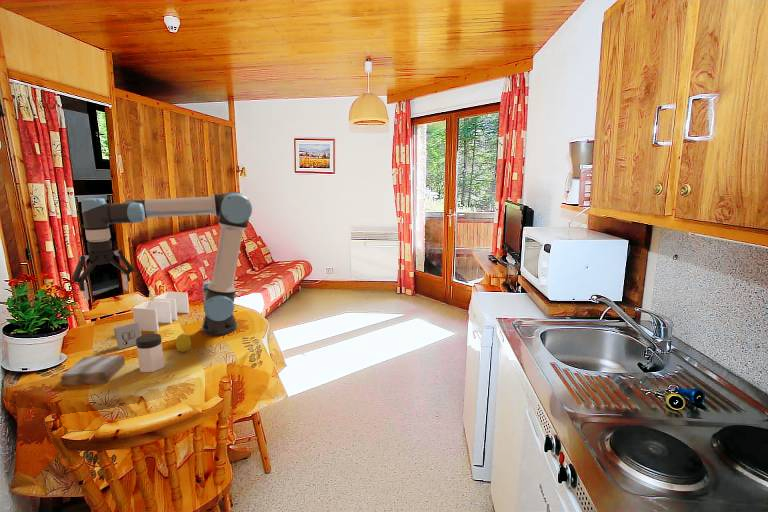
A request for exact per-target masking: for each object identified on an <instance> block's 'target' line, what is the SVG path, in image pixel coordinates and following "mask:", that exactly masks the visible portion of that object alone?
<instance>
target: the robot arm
mask: <svg viewBox="0 0 768 512" xmlns="http://www.w3.org/2000/svg"><path fill="white" fill-rule="evenodd" d="M80 205H81V213H82V219H83V224H84V225H83V227H84V231H85V238H86V244H87V251H88V255H82V254H80V255H78V262H77V264H76V266H75V270H74V272H73V273H72V277H71V281H72V282H73V283H78V289H79V291H80V292H82V293H83V294H82V295H83V299H85V300H87V301H88V300H90V297H89V290H88V283H87V282H86V280H87V278H88V277H89V275H90V274H91V273H92V272H93V270H94V269H95V268H96V266H101V265H109V264H112V265H113V266H114V267H116V268H117V269H118V270H120V271H121V272H122V273H121V278H122V279H121V280H122V287H123V290H124V291H125V292H128V291H129V289H130V288H129V282H130V281H131V278H130V277H131V276H130V274H131V273H132V272H134V271H135V269H134V267H133V266H132V265H131V263H130V262H129V261H128V259H126V256H124V253H123V250H121V249H116V250H113V244H112V240H111V238H112V235H111V229H110V225H111V224H136V223H143V222H145V219H149V218H166V217H167V218H168V217H184V216H186V217H187V216H201V215H203V216H205V215H212V216H213V215H214V216H215V217H218V222H217V223H218V225H219V226H220V233H219V240H218V243H217V250H216V255H215V257H216V258H215V261H214V268H213V274H212V279H211V280H210V281H206V282H204V283H203V284H202V292H203V294H202V295H203V312H204V317H203V321H202V326H201V329H202V330H201V331H202V334H205V335H208V336H222V335H227V334H230V333H232V332H234V331H236V330H235V329H238V321H237V320H236V317H235V315H234V311H235V303H234V302H235V298H236V297H235V296H236V292H237V288H236V287H235V285H234V282H235V277H236V270H237V265H238V260H239V254H240V248H241V243H242V237H243V232H244V231H245V230H246V229H248V225H249V221H250V217H251V216H252V214H253V205H252V203H251V201H250V199H249V198H248V197H247V196H246V195H244V194H243V193H241V192H238V191H229V192H228V191H227V192H223V193H213V194H212V195H211V196H199V197H198V196H197V197H196V196H195V197H194V196H193V197H175V198H174V197H173V198H172V197H171V198H154V199H151V198H149V199H127V200H125V201H123V202H120V203H119V202H117V203H107V200H106V199H105V198H102V197H97V198H96V197H92V198H89V197H88V198H84V199H82V200H81V204H80ZM115 256H117V258H118V259H119V260H120V261H121V262H122V264H123V265H124V266H125V267H124V266H122V265H121V264H120V263H119V262H118V261H116V260H115V259H114V257H115ZM88 260H90V261H89V262H88V264H87V266H86V268H85V269H84V266H85V264H86V261H88ZM83 269H84V271H83ZM82 271H83V272H82Z"/></svg>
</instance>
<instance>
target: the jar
mask: <svg viewBox="0 0 768 512" xmlns="http://www.w3.org/2000/svg"><path fill="white" fill-rule="evenodd" d="M141 335H142V334H141ZM135 346H136V350H137V358H138V365H139V372H140V373H154V372H157V371H159V370H161V369H163V368H165V362H164V354H163V344H162V335H161V334H159V333H145V334H143V335H142V336H140V337H138V338H137V339H136V345H135Z"/></svg>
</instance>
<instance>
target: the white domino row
mask: <svg viewBox="0 0 768 512" xmlns="http://www.w3.org/2000/svg"><path fill="white" fill-rule="evenodd" d="M152 299H153V300H152ZM152 299H151V300H150V299H149V300H147V301H145V302H142V303H140V304H138V305H136V306H134V307H132V314H133V323H134V322H138V323H139V326H140V330H141V332H142V331H143V332H155V333H157V332H159V331H160V328H159V323H165V324H171V325H172V324H173V321H178V320H179V319H178V313H181V314H182V313H184V314H185V313H186V314H189V313H190V306H189V294H188V292H181V291H180V292H179V291H166V292H163V293H162V294H160V295H159V294H158V295H157V296H155V297H153V298H152Z"/></svg>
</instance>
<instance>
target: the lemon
mask: <svg viewBox="0 0 768 512" xmlns="http://www.w3.org/2000/svg"><path fill="white" fill-rule="evenodd" d="M175 339H176V340H175V347H176V349H177V350H178V351H179V352H183V353H186V351H188V350H189V349H190V348H191V346H192V340H191V337H190V336H189V335H188V334H186V333H181V334H179V335H178V336H177V337H176V338H175Z"/></svg>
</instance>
